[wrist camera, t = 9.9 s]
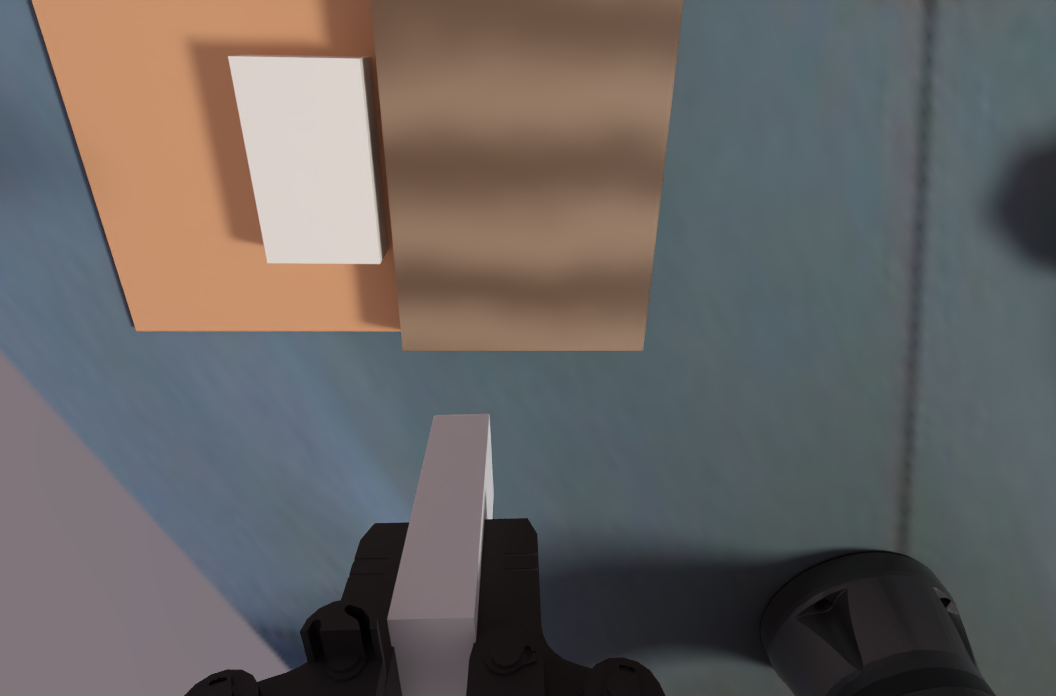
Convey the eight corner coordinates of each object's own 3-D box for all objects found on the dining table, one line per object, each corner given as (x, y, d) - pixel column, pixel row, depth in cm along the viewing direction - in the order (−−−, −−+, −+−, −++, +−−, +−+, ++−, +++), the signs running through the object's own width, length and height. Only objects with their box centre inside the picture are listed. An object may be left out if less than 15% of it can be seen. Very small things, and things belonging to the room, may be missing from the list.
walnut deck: (633, 328, 38) (642, 350, 35) (410, 328, 37) (402, 350, 35) (673, -50, 29) (690, -58, 26) (378, -56, 28) (364, -66, 26)
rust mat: (401, 328, 37) (401, 331, 37) (140, 328, 37) (136, 331, 37) (367, -56, 28) (365, -58, 28) (17, -64, 28) (11, -65, 27)
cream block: (388, 249, 35) (380, 264, 32) (282, 248, 34) (267, 263, 32) (370, 56, 30) (359, 58, 28) (248, 54, 30) (227, 56, 28)
